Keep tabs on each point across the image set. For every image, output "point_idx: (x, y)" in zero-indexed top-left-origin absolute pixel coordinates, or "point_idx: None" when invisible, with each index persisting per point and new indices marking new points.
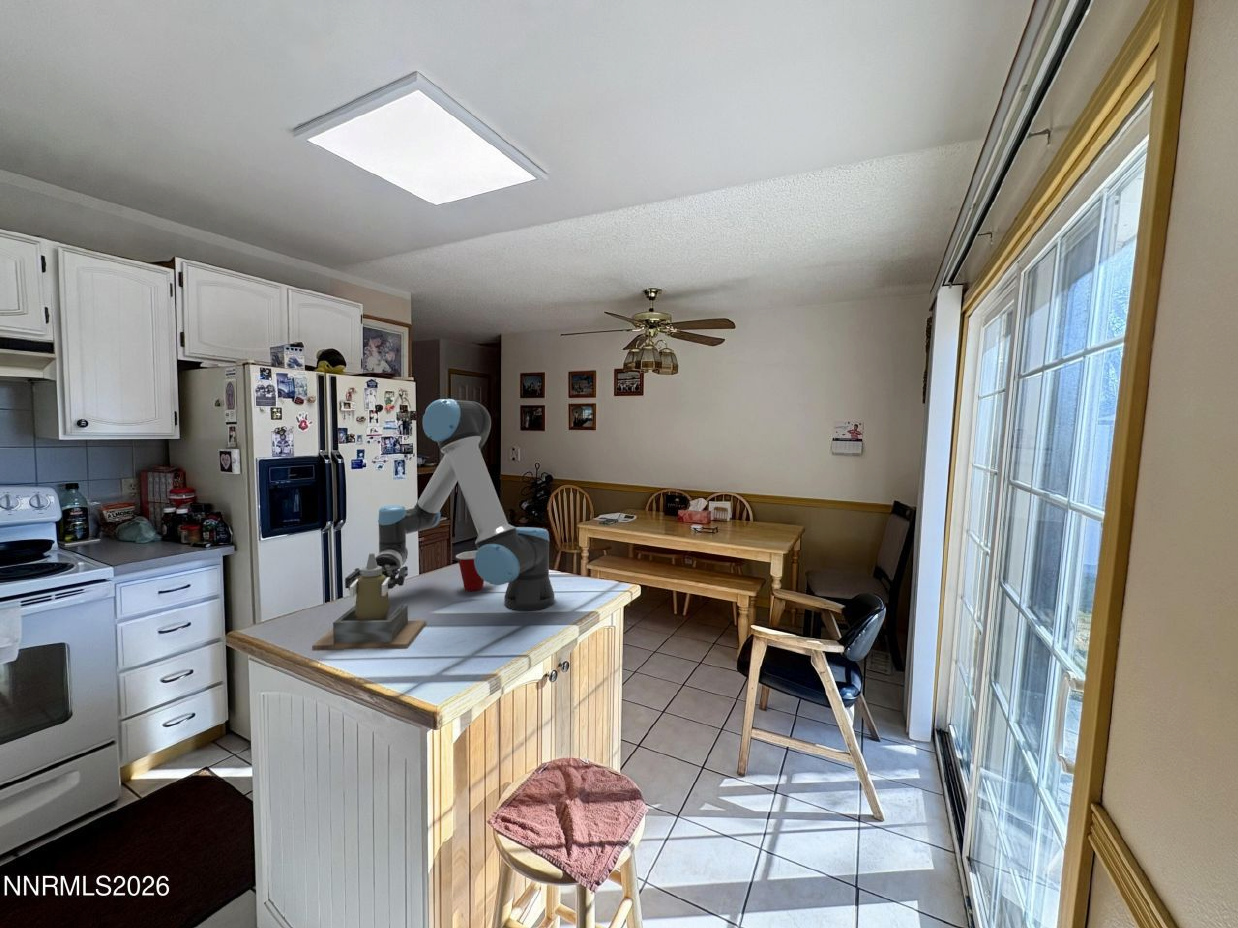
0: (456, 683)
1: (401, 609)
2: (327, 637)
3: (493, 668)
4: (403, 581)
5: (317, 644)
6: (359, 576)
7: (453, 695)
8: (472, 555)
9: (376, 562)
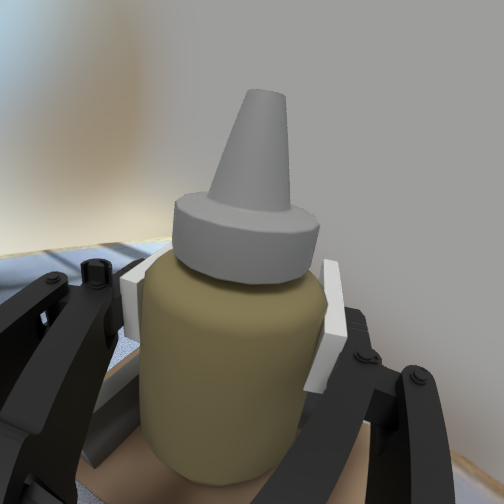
0: (144, 250)
1: (104, 387)
2: (355, 467)
3: (92, 250)
4: (38, 325)
5: (366, 428)
6: (345, 400)
7: (160, 241)
8: None
9: (221, 160)
